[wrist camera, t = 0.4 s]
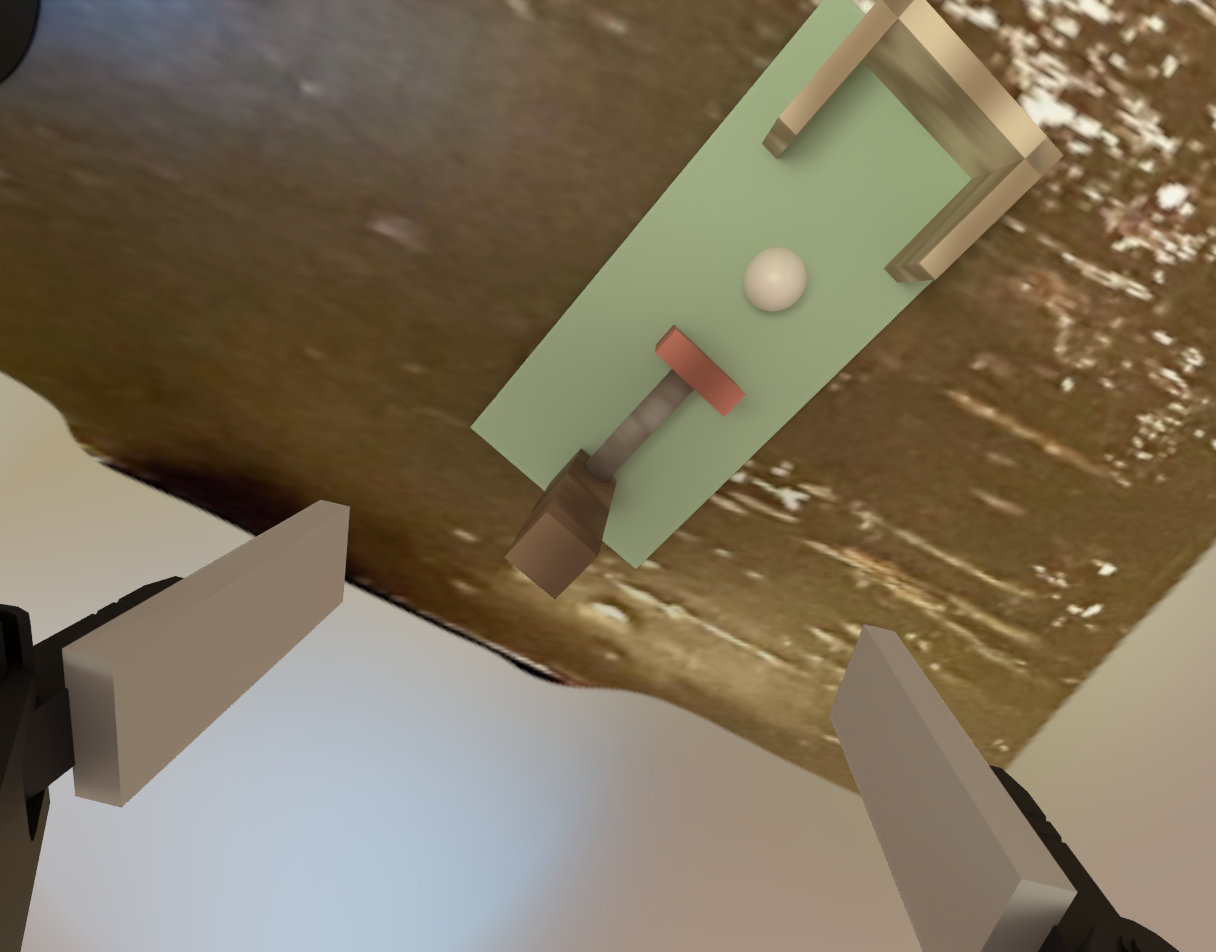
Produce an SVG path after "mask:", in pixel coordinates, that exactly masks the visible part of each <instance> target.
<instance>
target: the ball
mask: <svg viewBox="0 0 1216 952" xmlns="http://www.w3.org/2000/svg"><path fill="white" fill-rule="evenodd" d="M806 283H807V269H806V266H805V264H804V261H803V260H802V258H801V257H800V256H799V255H798V254H797V253H796V252H794V251H793V250H791V249H789V248H785V247H771V248H767V249H765V250H763V251H761V252H759V253H758V254H757V255H755V256H754V257H753V258H752V260H751V261H750V262H749V264H748V265H747V267H746V270H745V273H744V277H743V287H744V291H745V294H746V296H747V298H748V299H749V301H750V302H751V303H752V304H753V305H754V306H756V307H757V308H759V309H761V310H764V311H769V312H775V311H781V310H784V309H786V308H788V307H790V306H792V305H793V304H794V303H795V302H796V301H797V300H798V299H799V298H800V297H801V295H802V294H803V292H804V290H805V287H806Z"/></svg>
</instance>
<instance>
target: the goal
mask: <svg viewBox="0 0 1216 952" xmlns="http://www.w3.org/2000/svg"><path fill="white" fill-rule="evenodd" d="M862 61H863V62H864V63H865V64H866V65H867V67H868V68H869V69H870V70H871V71H872V72H873V73H874V74H875V75H876V76H877V77H878V78H879V80H880V81H881V82H882V83H883V84H884V85H885V86H886V87H887V88H888V89H889V90H890V91H891V93H892V94H893V95H894V96H895V97H896V98H897V99H898V100H899V101H900V102H901V103H902V104H903V105H904V107H905V108H906V109H907V110H908V111H909V112H910V113H911V114H912V115H913V116H914V117H915V118H916V120H917V121H918V122H919V123H920V124H921V125H922V126H923V127H924V128H925V129H926V130H927V131H928V133H929V134H930V135H931V136H932V137H933V138H934V139H935V140H936V141H937V142H938V143H939V144H940V146H941V147H942V148H943V149H944V150H945V151H946V152H947V153H948V154H949V155H950V156H951V157H952V159H953V160H954V161H955V162H956V163H957V164H958V165H959V166H960V167H961V168H962V169H963V170H964V172H965V173H966V174H967V175H968V176H969V177H970V178H971V180H970V181H969V182H968V183H967V184H966V185H965V186H964V187H963V188H962V189H961V190H960V191H959V193H958V194H957V195H956V196H955V197H954V198H953V199H952V200H951V201H950V202H949V203H948V204H947V205H946V206H945V207H944V208H943V209H942V210H941V211H940V212H939V213H938V214H937V215H936V216H935V217H934V218H933V219H932V220H931V221H930V222H929V223H928V224H927V225H926V226H925V227H924V228H923V229H922V230H921V231H920V232H919V233H918V234H917V235H916V236H915V237H914V238H913V239H912V240H911V241H910V242H909V243H908V244H907V245H906V246H905V247H904V248H903V249H902V250H901V251H900V252H899V253H898V254H897V255H896V256H895V257H894V258H893V259H892V260H891V261H890V262H889V263H888V264H887V265H886V266H885V267H884V269H885V270H886V271H887V272H888V273H889V275H890V276H891V277H892V278H893V279H894V280H895V281H896V282H897V283H898V282H912V281H926V280H936V279H937V278H938V277H939V276H940V275H941V274H942V273H943V272H944V271H945V270H946V269H947V268H948V267H949V266H950V265H951V264H952V263H953V262H954V261H955V260H956V259H957V258H958V257H960V256H961V255H962V254H963V253H964V252H965V251H966V250H967V249H968V248H969V247H970V246H971V245H972V244H973V243H974V242H975V241H976V240H977V239H978V238H979V237H980V236H981V235H982V234H983V233H984V232H985V231H986V230H987V229H988V228H989V227H990V226H991V225H992V224H993V223H995V222H996V221H997V220H998V219H999V218H1000V217H1001V216H1002V215H1003V214H1004V213H1005V212H1006V211H1007V210H1008V209H1009V208H1010V207H1011V206H1012V205H1013V204H1014V203H1015V202H1016V201H1017V200H1018V199H1019V198H1020V197H1021V196H1022V195H1023V194H1024V193H1025V192H1026V191H1027V190H1028V189H1030V188H1031V187H1032V186H1033V185H1034V184H1035V183H1036V182H1037V181H1038V180H1039V179H1040V178H1041V177H1042V176H1043V175H1044V174H1045V173H1046V172H1047V171H1048V170H1049V169H1050V168H1051V167H1052V166H1053V165H1054V164H1055V163H1056V162H1057V161H1058V160H1059V159H1060V158H1061V157H1062V156H1063V154H1062V153H1061V152H1060V151H1059V150H1058V149H1057V147H1056V146H1055V145H1054V144H1053V143H1052V142H1051V141H1050V140H1049V138H1048V137H1047V136H1046V135H1045V134H1044V133H1043V132H1042V131H1041V129H1040V128H1039V127H1038V126H1037V125H1036V124H1035V123H1034V122H1033V120H1032V119H1031V118H1030V117H1029V116H1028V115H1027V114H1026V113H1025V111H1024V110H1023V109H1022V108H1021V107H1020V106H1019V105H1018V104H1017V102H1016V101H1015V100H1014V99H1013V98H1012V97H1011V96H1010V95H1009V93H1008V92H1007V91H1006V90H1005V89H1004V88H1003V87H1002V85H1001V84H1000V83H999V82H998V81H997V80H996V79H995V78H994V76H993V75H992V74H991V73H990V72H989V71H988V70H987V69H986V67H985V66H984V65H983V64H982V63H981V62H980V61H979V60H978V58H977V57H976V56H975V55H974V54H973V53H972V52H971V51H970V49H969V48H968V47H967V46H966V45H965V44H964V43H963V42H962V40H961V39H960V38H959V37H958V36H957V35H956V34H955V33H954V31H953V30H952V29H951V28H950V27H949V26H948V25H947V24H946V22H945V21H944V20H943V19H942V18H941V17H940V16H939V15H938V13H937V12H936V11H935V10H934V9H933V8H932V7H931V6H930V4H929V3H928V2H927V1H926V0H878V1H877V2H876V4H875V5H874V6H873V7H872V8H871V9H870V11H869V12H868V13H867V14H866V15H865V16H864V18H863V19H862V20H861V21H860V22H859V23H858V25H857V26H856V27H855V28H854V29H853V30H852V32H851V33H850V34H849V35H848V36H847V37H846V39H845V40H844V41H843V42H842V43H841V44H840V46H839V47H838V48H837V49H836V50H835V52H834V53H833V54H832V55H831V56H830V57H829V59H828V60H827V61H826V62H825V63H824V64H823V66H822V67H821V68H820V69H819V70H818V71H817V73H816V74H815V75H814V76H813V77H812V78H811V80H810V81H809V82H808V83H807V84H806V85H805V87H804V88H803V89H802V90H801V91H800V92H799V94H798V95H797V96H796V97H795V98H794V99H793V101H792V102H791V103H790V104H789V105H788V107H787V108H786V109H785V110H784V111H783V112H782V114H781V115H780V116H779V117H778V119H777V120H776V122H775V123H774V125H773V126H772V128H771V130H770V131H769V133H768V134H767V136H766V137H765V139H764V141H763V142H762V145H763V146H764V147H765V148H766V149H767V150H768V151H769V152H770V153H771V154H772V155H773V156H774V157H775V158H776V159H777V158H778V157H779V156H780V155H781V154H782V152H783V151H784V150H785V149H786V148H787V147H788V146H789V144H790V143H791V142H792V141H793V140H794V139H795V137H796V136H797V135H798V134H799V133H800V132H801V131H802V129H803V128H804V127H805V126H806V125H807V124H808V123H809V121H810V120H811V119H812V118H813V117H814V116H815V115H816V113H817V112H818V111H819V110H820V109H821V108H822V107H823V105H824V104H825V103H826V102H827V101H828V100H829V99H830V97H831V96H832V95H833V94H834V93H835V92H836V91H837V89H838V88H839V87H840V86H841V85H842V84H843V83H844V81H845V80H846V79H847V78H848V77H849V76H850V75H851V73H852V72H853V71H854V70H855V69H856V68H857V67H858V65H859V64H860V63H861V62H862Z"/></svg>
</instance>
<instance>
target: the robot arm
mask: <svg viewBox="0 0 1216 952" xmlns="http://www.w3.org/2000/svg"><path fill="white" fill-rule="evenodd" d="M36 9H37V0H0V80H1V79H2V78H3V77H4V76H6V75H7V74H8V73H9V72H10V71H11V69H12V68H13V67H14V66H15V65H16V63H17V62H18V60H19V59H20V57H21V55H22V54H23V52H24V50H25V48H26V46H27V44H28V41H29V38H30V36H31V33H32V29H33V26H34V21H35V16H36ZM349 512H350V506H345V505H341V504H337V503H332V502H328V501H323V500H320V501H318V502H316V503H314V504H313V505H311V506H309V507H307V508H306V509H304V510H302V511H301V512H299V513H297V514H295V515H294V516H292V517H290V518H288V519H287V520H285V521H283V522H281V523H280V524H278V525H276V526H274V527H273V528H271V529H269V530H267V531H266V532H264V533H262V534H261V535H259V536H257V537H255V538H254V539H252V540H250V541H248V542H247V543H245V544H243V545H242V546H240V547H238V548H236V549H234V550H233V551H231V552H229V553H227V554H226V555H224V556H222V557H221V558H219V559H217V560H215V561H214V562H212V563H210V564H208V565H207V566H205V567H203V568H201V569H200V570H198V571H196V572H195V573H193V574H191V575H189V576H188V577H186V578H181V577H177V576H174V577H171V578H168V579H165V580H161V581H158V582H155V583H151V584H148V585H145V586H143V587H141V588H139V589H137V590H135V591H133V592H132V593H130V594H128V595H126V596H124V597H122V598H120V599H119V600H118V602H117V603H114V602H113V603H111V604H110V605H108V606H106V607H104V608H102V609H100V610H98V612H97V614H96V615H95V614H91V615H89V616H87V617H86V618H84V619H82V620H80V621H79V622H76V623H75V624H73V625H71V626H69V627H67V628H65V629H64V630H62V631H60V632H58V633H56V634H54V635H53V636H51V637H49V638H47V639H46V640H43V641H41V642H40V643H38V644H36V645H34V646H33V642H32V633H31V625H30V618H29V613H28V612H26V611H25V610H23V609H21V608H19V607H16V606H10V605H4V604H0V952H20V951H21V946H22V941H23V935H24V931H25V926H26V921H27V916H28V911H29V905H30V900H31V895H32V891H33V885H34V880H35V875H36V870H37V865H38V860H39V855H40V850H41V845H42V840H43V835H44V830H45V825H46V820H47V815H48V810H49V805H50V798H49V789H48V786H49V785H50V784H51V783H52V782H54V781H55V780H56V779H58V778H59V777H60V776H61V775H62V774H64V773H65V772H67V771H68V770H69V769H70V768H72V767H73V775H74V786H75V796H77V797H81V798H85V799H89V800H93V801H98V802H102V803H106V804H110V805H114V806H118V807H122V806H124V805H125V804H126V802H128V801H129V800H130V799H131V798H132V797H133V796H134V795H135V794H136V793H138V792H139V791H140V790H141V789H142V787H144V786H145V785H146V784H147V783H148V782H149V781H150V780H151V779H153V777H155V776H156V775H157V774H158V773H159V772H160V771H161V770H162V769H163V768H164V767H165V766H167V765H168V764H169V762H171V761H172V760H173V759H174V758H175V757H176V756H177V755H178V754H179V753H181V752H182V751H183V750H184V749H185V748H186V747H187V746H188V745H189V744H190V743H191V742H192V741H193V740H194V739H195V738H197V737H198V736H199V735H200V734H201V733H202V732H203V731H204V730H205V729H206V728H207V727H208V726H209V725H211V724H212V723H213V722H214V721H215V720H216V719H217V718H218V717H219V716H220V715H221V714H222V713H223V712H224V711H226V710H227V709H228V708H229V707H230V706H231V705H232V704H233V703H234V702H235V701H236V700H237V699H239V697H241V695H243V694H244V693H245V692H246V691H247V690H248V689H249V688H250V687H251V686H253V685H254V684H255V683H256V682H257V681H258V680H259V679H260V678H261V677H262V676H263V675H264V674H265V673H267V672H268V671H269V670H270V669H271V668H272V667H273V666H274V665H275V664H276V663H277V662H278V661H279V660H280V659H282V658H283V657H284V656H285V655H286V654H287V653H288V652H289V651H290V650H291V649H292V648H293V647H294V646H295V645H297V644H298V643H299V642H300V641H301V640H302V639H303V638H304V637H305V636H306V635H307V634H308V633H310V632H311V631H312V630H313V629H314V628H315V627H316V626H317V625H318V624H319V623H320V622H321V621H322V620H323V619H324V618H326V617H327V616H328V615H329V614H330V613H331V612H332V611H333V610H334V609H335V608H336V607H337V606H338V605H339V604H340V603H342V602H343V592H344V578H345V565H346V552H347V539H348V525H349ZM829 717H830V719H831V722H832V725H833V727H834V730H835V732H836V735H837V737H838V740H839V742H840V745H841V747H842V750H843V752H844V755H845V757H846V760H847V762H848V765H849V767H850V770H851V772H852V775H853V777H854V780H855V782H856V785H857V787H858V790H859V792H860V795H861V797H862V800H863V802H864V805H865V807H866V810H867V812H868V815H869V817H870V820H871V822H872V825H873V827H874V830H875V833H876V835H877V837H878V840H879V843H880V845H881V848H882V850H883V852H884V855H885V858H886V860H887V862H888V865H889V867H890V870H891V873H892V875H893V878H894V880H895V883H896V885H897V888H898V890H899V893H900V895H901V898H902V900H903V903H904V905H905V908H906V910H907V913H908V915H909V918H910V920H911V923H912V925H913V928H914V930H915V933H916V935H917V938H918V941H919V943H920V946H921V948H922V951H923V952H1179V951H1178V950H1176V949H1175V948H1174V947H1173V946H1172V945H1170V944H1169V943H1168V942H1166V941H1165V940H1164V939H1162V938H1161V937H1160V936H1158V935H1157V934H1156V933H1154V932H1152V931H1150V930H1148V929H1147V928H1145V927H1143V926H1141V925H1140V924H1138V923H1136V922H1134V921H1132V920H1129V919H1126V918H1122V917H1120V916H1119V914H1118V913H1117V912H1116V911H1115V909H1114V908H1113V906H1112V905H1111V904H1110V902H1109V901H1108V900H1107V898H1106V897H1105V896H1104V894H1103V893H1102V891H1101V890H1100V889H1099V887H1098V886H1097V885H1096V884H1095V882H1094V881H1093V879H1092V878H1091V877H1090V875H1089V874H1088V873H1087V871H1086V870H1085V869H1084V867H1083V866H1082V865H1081V863H1080V862H1079V861H1078V859H1077V858H1076V856H1075V855H1074V854H1073V852H1072V851H1071V850H1070V848H1069V847H1068V846H1067V844H1066V843H1063V842H1062V841H1061V836H1060V835H1059V834H1058V832H1057V831H1056V829H1055V828H1054V827H1053V825H1052V824H1051V823H1050V822H1048V821H1046V816H1045V815H1044V813H1043V812H1042V811H1041V809H1040V808H1039V807H1038V805H1037V804H1036V803H1035V801H1034V800H1033V798H1032V797H1031V796H1030V794H1029V793H1028V792H1027V791H1026V790H1025V789H1024V788H1023V787H1021V786H1020V785H1019V784H1018V783H1017V782H1016V781H1015V780H1014V779H1013V778H1012V777H1011V776H1009V775H1008V774H1007V773H1006V772H1005V771H1004V770H1003V769H1002V768H998V767H994V766H990V765H988V764H987V762H986V761H985V759H984V758H983V757H982V755H981V754H980V752H979V751H978V749H977V748H976V747H975V745H974V744H973V742H972V741H971V739H970V738H969V737H968V735H967V734H966V732H965V731H964V729H963V728H962V727H961V725H960V724H959V722H958V721H957V719H956V718H955V717H954V715H953V714H952V712H951V711H950V709H949V708H948V707H947V705H946V704H945V702H944V701H943V699H942V698H941V697H940V695H939V694H938V692H937V691H936V689H935V688H934V687H933V685H932V684H931V682H930V681H929V679H928V678H927V677H926V675H925V674H924V672H923V671H922V669H921V668H920V667H919V665H918V664H917V662H916V661H915V659H914V658H913V657H912V655H911V654H910V652H909V651H908V649H907V648H906V647H905V645H904V644H903V642H902V641H901V639H900V638H899V637H898V635H897V634H896V632H895V631H891V630H887V629H883V628H878V627H874V626H869V625H865V624H864V625H863V628H862V631H861V633H860V636H859V638H858V641H857V644H856V646H855V649H854V651H853V654H852V657H851V659H850V662H849V664H848V667H847V669H846V672H845V675H844V677H843V680H842V682H841V685H840V688H839V690H838V693H837V695H836V698H835V701H834V703H833V706H832V708H831V711H830V714H829Z"/></svg>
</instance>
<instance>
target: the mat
mask: <svg viewBox="0 0 1216 952" xmlns="http://www.w3.org/2000/svg"><path fill="white" fill-rule="evenodd" d="M864 16H865V14H864V13H863V11H862V10H861V9H860V8H859V7H858V6H857V5H856V4H855V3H854V2H853V0H823V1H822V3H821V4H820V5H819V6H818V7H817V9H816V10H815V11H814V12H813V13H812V15H811V16H810V17H809V18H808V19H807V21H806V22H805V23H804V24H803V26H802V27H801V28H800V29H799V30H798V32H797V33H796V34H795V35H794V36H793V38H792V39H791V40H790V41H789V42H788V44H787V45H786V46H785V47H784V49H783V50H782V51H781V52H780V53H779V55H778V56H777V57H776V58H775V59H774V61H773V62H772V63H771V64H770V65H769V67H768V68H767V69H766V70H765V72H764V73H763V74H762V75H761V76H760V78H759V79H758V80H757V81H756V82H755V84H754V85H753V86H752V87H751V88H750V90H749V91H748V92H747V93H746V94H745V96H744V97H743V98H742V99H741V101H740V102H739V103H738V104H737V105H736V107H735V108H734V109H733V110H732V111H731V113H730V114H729V115H728V116H727V117H726V119H725V120H724V121H723V122H722V124H721V125H720V126H719V127H718V128H717V130H716V131H715V132H714V133H713V134H712V136H711V137H710V138H709V139H708V140H707V142H706V143H705V144H704V145H703V147H702V148H701V149H700V150H699V151H698V153H697V154H696V155H695V156H694V157H693V159H692V160H691V161H690V162H689V163H688V165H687V166H686V167H685V168H684V169H683V171H682V172H681V173H680V174H679V176H678V177H677V178H676V179H675V180H674V182H673V183H672V184H671V185H670V186H669V188H668V189H667V190H666V191H665V192H664V194H663V195H662V196H661V197H660V199H659V200H658V201H657V202H656V203H655V205H654V206H653V207H652V208H651V209H650V211H649V212H648V213H647V214H646V215H645V217H644V218H643V219H642V220H641V221H640V223H639V224H638V225H637V226H636V228H635V229H634V230H633V231H632V232H631V234H630V235H629V236H628V237H627V238H626V240H625V241H624V242H623V243H622V244H621V246H620V247H619V248H618V249H617V251H616V252H615V253H614V254H613V255H612V257H611V258H610V259H609V260H608V261H607V263H606V264H605V265H604V266H603V267H602V269H601V270H600V271H599V272H598V274H597V275H596V276H595V277H594V278H593V280H592V281H591V282H590V283H589V284H588V286H587V287H586V288H585V289H584V290H583V292H582V293H581V294H580V295H579V296H578V298H577V299H576V300H575V301H574V303H573V304H572V305H571V306H570V307H569V309H568V310H567V311H566V312H565V313H564V315H563V316H562V317H561V318H560V319H559V321H558V322H557V323H556V324H555V326H554V327H553V328H552V329H551V330H550V332H549V333H548V334H547V335H546V336H545V338H544V339H543V340H542V341H541V342H540V344H539V345H538V346H537V347H536V349H535V350H534V351H533V352H532V353H531V355H530V356H529V357H528V358H527V359H526V361H525V362H524V363H523V364H522V365H521V367H520V368H519V369H518V370H517V371H516V373H515V374H514V375H513V376H512V378H511V379H510V380H509V381H508V382H507V384H506V385H505V386H504V387H503V388H502V390H501V391H500V392H499V393H498V394H497V396H496V397H495V398H494V399H493V401H492V402H491V403H490V404H489V405H488V407H487V408H486V409H485V410H484V411H483V413H482V414H481V415H480V416H479V417H478V419H477V420H476V421H475V422H474V424H473V425H472V426H471V427H470V428H472V429H473V430H474V431H475V432H476V433H477V434H479V435H480V436H481V437H482V438H483V439H484V440H486V441H487V442H488V443H489V444H490V445H491V446H493V447H494V448H495V449H496V450H497V451H498V452H500V453H501V454H502V455H503V456H504V457H505V458H507V459H508V460H509V461H510V462H511V463H512V464H514V465H515V466H516V467H517V468H518V469H519V470H521V471H522V472H523V473H524V474H525V475H526V476H528V477H529V478H530V479H531V480H532V481H533V482H535V483H536V484H537V485H538V486H539V487H540V488H542V489H543V490H544V491H545V490H546V488H547V486H548V485H549V483H550V482H551V481H552V480H553V478H554V477H555V476H556V475H557V474H558V473H559V472H560V471H561V470H562V469H563V468H564V466H565V465H566V464H567V463H568V462H569V461H570V460H571V459H572V458H573V457H574V455H575V454H576V453H577V452H578V451H579V450H580V449H582V450H583V451H584V452H586V453H587V454H588V455H589V456H590V457H591V456H592V455H593V454H594V453H595V452H596V451H597V450H598V448H599V447H600V446H601V445H602V444H603V443H604V442H605V441H606V440H607V439H608V438H609V437H610V435H611V434H612V433H613V432H614V431H615V430H616V429H617V428H618V427H619V426H620V425H621V424H622V422H623V421H624V420H625V419H626V418H627V417H628V416H629V415H630V414H631V413H632V412H633V411H634V409H635V408H636V407H637V406H638V405H639V404H640V403H641V402H642V401H643V400H644V399H645V398H646V396H647V395H648V394H649V393H650V392H651V391H652V390H653V389H654V388H655V387H656V386H657V385H658V383H659V382H660V381H661V380H662V379H663V378H664V377H665V376H666V375H667V374H668V373H669V371H670V370H671V369H672V368H671V367H670V366H669V365H668V364H666V363H665V362H664V361H663V360H662V359H661V358H660V357H659V356H658V355H657V354H656V353H655V348H656V344H657V343H658V342H659V340H660V339H661V338H662V337H663V336H664V335H665V334H666V333H667V332H668V330H669V329H670V328H671V327H672V326H673V325H675V326H676V327H677V328H678V329H679V330H680V331H681V332H683V333H684V334H685V335H686V336H687V337H688V338H689V339H690V340H691V341H692V342H693V343H694V344H695V345H696V346H697V347H698V348H700V349H701V350H702V351H703V352H704V353H705V354H706V355H707V356H708V357H709V358H710V359H711V360H712V361H713V362H714V363H715V364H717V365H718V366H719V367H720V368H721V369H722V370H723V371H724V372H725V373H726V374H727V375H728V376H729V377H730V378H731V379H732V380H733V381H734V382H735V383H736V384H737V385H738V386H739V387H740V389H741V390H742V391H743V392H744V393H745V394H746V395H745V396H744V397H743V398H742V399H741V400H740V401H739V402H738V403H737V404H736V405H735V406H734V407H733V408H732V409H731V410H730V411H729V412H728V413H727V414H726V415H725V416H722V415H721V414H720V413H719V412H718V411H717V410H716V409H715V408H714V407H713V406H712V405H711V404H710V403H708V402H707V401H706V400H705V399H704V398H703V397H702V396H701V395H700V394H699V393H698V392H697V391H696V390H693V391H692V392H691V393H690V394H689V395H688V396H687V397H686V398H685V400H684V401H683V402H682V403H681V404H680V405H679V406H678V407H677V408H676V409H675V410H674V411H673V412H672V413H671V414H670V415H669V416H668V417H667V419H666V420H665V421H664V422H663V423H662V424H661V425H660V426H659V427H658V428H657V429H656V430H655V431H654V432H653V433H652V434H651V435H650V436H649V437H648V439H647V440H646V441H645V442H644V443H643V444H642V445H641V446H640V447H639V448H638V449H637V450H636V451H635V452H634V453H633V454H632V455H631V456H630V458H629V459H628V460H627V461H626V462H625V463H624V464H623V465H622V466H621V467H620V468H619V469H618V470H617V471H616V472H615V473H614V474H613V475H612V476H613V477H614V478H615V479H616V480H617V482H616V486H615V490H614V494H613V498H612V502H611V506H610V510H609V514H608V519H607V523H606V527H605V531H604V535H603V539H602V541H603V542H605V543H606V544H607V545H608V546H609V547H610V548H612V549H613V550H614V551H615V552H616V553H617V554H619V555H620V556H621V557H622V558H623V559H624V560H625V561H627V562H628V563H629V564H630V565H631V566H632V567H634V568H635V569H637V568H638V567H639V566H640V565H641V564H642V563H643V562H644V561H645V560H646V559H647V558H648V557H649V556H650V555H651V554H652V553H653V552H654V551H655V550H656V549H657V548H658V547H659V546H660V545H661V544H662V543H663V542H664V541H665V540H666V539H667V538H668V537H669V536H670V535H672V534H673V533H674V532H675V531H676V530H677V529H678V528H679V527H680V526H681V525H682V524H683V523H684V522H685V521H686V520H687V519H688V518H689V517H690V516H691V515H692V514H693V513H694V512H695V511H696V510H697V509H698V508H699V507H700V506H701V505H702V504H703V503H704V502H705V501H706V500H707V499H709V498H710V497H711V496H712V495H713V494H714V493H715V492H716V491H717V490H718V489H719V488H720V487H721V486H722V485H723V484H724V483H725V482H726V481H727V480H728V479H729V478H730V477H731V476H732V475H733V474H734V473H735V472H736V471H737V470H738V469H739V468H740V467H741V466H742V465H743V464H745V463H746V462H747V461H748V460H749V459H750V458H751V457H752V456H753V455H754V454H755V453H756V452H757V451H758V450H759V449H760V448H761V447H762V446H763V445H764V444H765V443H766V442H767V441H768V440H769V439H770V438H771V437H772V436H773V435H774V434H775V433H776V432H777V431H778V430H779V429H781V428H782V427H783V426H784V425H785V424H786V423H787V422H788V421H789V420H790V419H791V418H792V417H793V416H794V415H795V414H796V413H797V412H798V411H799V410H800V409H801V408H802V407H803V406H804V405H805V404H806V403H807V402H808V401H809V400H810V399H811V398H812V397H813V396H814V395H815V394H816V393H818V392H819V391H820V390H821V389H822V388H823V387H824V386H825V385H826V384H827V383H828V382H829V381H830V380H831V379H832V378H833V377H834V376H835V375H836V374H837V373H838V372H839V371H840V370H841V369H842V368H843V367H844V366H845V365H846V364H847V363H848V362H849V361H850V360H851V359H852V358H854V357H855V356H856V355H857V354H858V353H859V352H860V351H861V350H862V349H863V348H864V347H865V346H866V345H867V344H868V343H869V342H870V341H871V340H872V339H873V338H874V337H875V336H876V335H877V334H878V333H879V332H880V331H881V330H882V329H883V328H884V327H885V326H886V325H887V324H888V323H890V322H891V321H892V320H893V319H894V318H895V317H896V316H897V315H898V314H899V313H900V312H901V311H902V310H903V309H904V308H905V307H906V306H907V305H908V304H909V303H910V302H911V301H912V300H913V299H914V298H915V297H916V296H917V295H918V294H919V293H920V292H921V291H922V290H923V289H924V288H925V287H927V286H928V285H929V284H930V283H931V282H932V281H933V280H926V281H912V282H898V283H897V282H896V281H895V280H894V279H893V278H892V277H891V276H890V275H889V273H888V272H887V271H886V270H885V269H884V267H885V266H886V265H887V264H888V263H889V262H890V261H891V260H892V259H893V258H894V257H895V256H896V255H897V254H898V253H899V252H900V251H901V250H902V249H903V248H904V247H905V246H906V245H907V244H908V243H909V242H910V241H911V240H912V239H913V238H914V237H915V236H916V235H917V234H918V233H919V232H920V231H921V230H922V229H923V228H924V227H925V226H926V225H927V224H928V223H929V222H930V221H931V220H932V219H933V218H934V217H935V216H936V215H937V214H938V213H939V212H940V211H941V210H942V209H943V208H944V207H945V206H946V205H947V204H948V203H949V202H950V201H951V200H952V199H953V198H954V197H955V196H956V195H957V194H958V193H959V191H960V190H961V189H962V188H963V187H964V186H965V185H966V184H967V183H968V182H969V181H970V180H971V178H970V177H969V176H968V175H967V174H966V173H965V172H964V170H963V169H962V168H961V167H960V166H959V165H958V164H957V163H956V162H955V161H954V160H953V159H952V157H951V156H950V155H949V154H948V153H947V152H946V151H945V150H944V149H943V148H942V147H941V146H940V144H939V143H938V142H937V141H936V140H935V139H934V138H933V137H932V136H931V135H930V134H929V133H928V131H927V130H926V129H925V128H924V127H923V126H922V125H921V124H920V123H919V122H918V121H917V120H916V118H915V117H914V116H913V115H912V114H911V113H910V112H909V111H908V110H907V109H906V108H905V107H904V105H903V104H902V103H901V102H900V101H899V100H898V99H897V98H896V97H895V96H894V95H893V94H892V93H891V91H890V90H889V89H888V88H887V87H886V86H885V85H884V84H883V83H882V82H881V81H880V80H879V78H878V77H877V76H876V75H875V74H874V73H873V72H872V71H871V70H870V69H869V68H868V67H867V65H866V64H865V63H864V62H863V61H862V62H861V63H860V64H859V65H858V67H857V68H856V69H855V70H854V71H853V72H852V73H851V75H850V76H849V77H848V78H847V79H846V80H845V81H844V83H843V84H842V85H841V86H840V87H839V88H838V89H837V91H836V92H835V93H834V94H833V95H832V96H831V97H830V99H829V100H828V101H827V102H826V103H825V104H824V105H823V107H822V108H821V109H820V110H819V111H818V112H817V113H816V115H815V116H814V117H813V118H812V119H811V120H810V121H809V123H808V124H807V125H806V126H805V127H804V128H803V129H802V131H801V132H800V133H799V134H798V135H797V136H796V137H795V139H794V140H793V141H792V142H791V143H790V144H789V146H788V147H787V148H786V149H785V150H784V151H783V152H782V154H781V155H780V156H779V157H778V158H777V159H776V158H775V157H774V156H773V155H772V154H771V153H770V152H769V151H768V150H767V149H766V148H765V147H764V146H763V145H762V142H763V141H764V139H765V137H766V136H767V134H768V133H769V131H770V130H771V128H772V126H773V125H774V123H775V122H776V120H777V119H778V117H779V116H780V115H781V114H782V112H783V111H784V110H785V109H786V108H787V107H788V105H789V104H790V103H791V102H792V101H793V99H794V98H795V97H796V96H797V95H798V94H799V92H800V91H801V90H802V89H803V88H804V87H805V85H806V84H807V83H808V82H809V81H810V80H811V78H812V77H813V76H814V75H815V74H816V73H817V71H818V70H819V69H820V68H821V67H822V66H823V64H824V63H825V62H826V61H827V60H828V59H829V57H830V56H831V55H832V54H833V53H834V52H835V50H836V49H837V48H838V47H839V46H840V44H841V43H842V42H843V41H844V40H845V39H846V37H847V36H848V35H849V34H850V33H851V32H852V30H853V29H854V28H855V27H856V26H857V25H858V23H859V22H860V21H861V20H862V19H863V18H864ZM771 247H785V248H789V249H791V250H793V251H794V252H796V253H797V254H798V255H799V256H800V257H801V258H802V260H803V261H804V264H805V266H806V269H807V283H806V287H805V290H804V292H803V294H802V295H801V297H800V298H799V299H798V300H797V301H796V302H795V303H794V304H793V305H792V306H790V307H788V308H786V309H784V310H781V311H775V312H769V311H764V310H761V309H759V308H757V307H756V306H754V305H753V304H752V303H751V302H750V301H749V299H748V298H747V296H746V294H745V291H744V287H743V277H744V273H745V270H746V267H747V265H748V264H749V262H750V261H751V260H752V258H753V257H754V256H755V255H757V254H758V253H759V252H761V251H763V250H765V249H767V248H771Z"/></svg>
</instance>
